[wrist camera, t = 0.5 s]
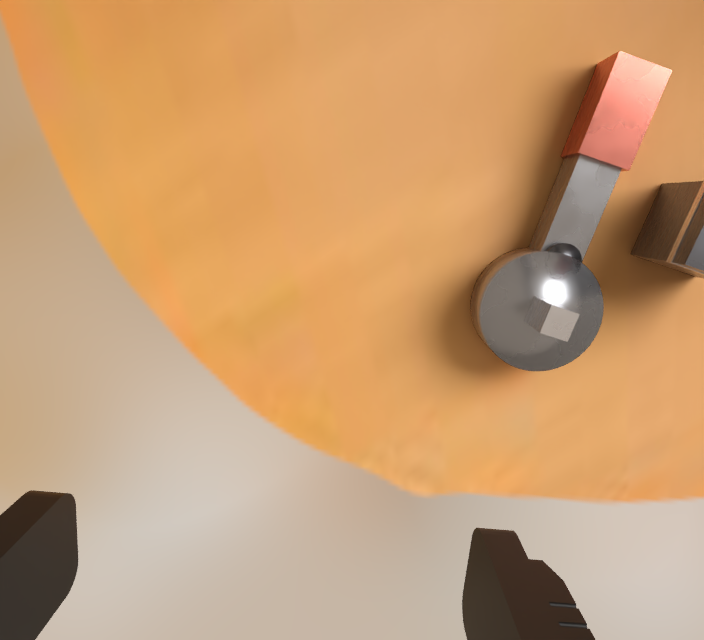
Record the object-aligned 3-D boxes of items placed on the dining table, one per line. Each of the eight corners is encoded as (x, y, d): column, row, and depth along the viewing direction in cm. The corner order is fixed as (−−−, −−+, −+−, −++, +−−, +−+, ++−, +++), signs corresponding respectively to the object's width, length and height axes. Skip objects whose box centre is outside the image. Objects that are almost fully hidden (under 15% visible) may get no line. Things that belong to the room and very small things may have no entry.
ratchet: (564, 51, 33) (610, 18, 27) (678, 93, 33) (747, 69, 27) (454, 338, 37) (472, 364, 31) (556, 371, 37) (593, 402, 32)
